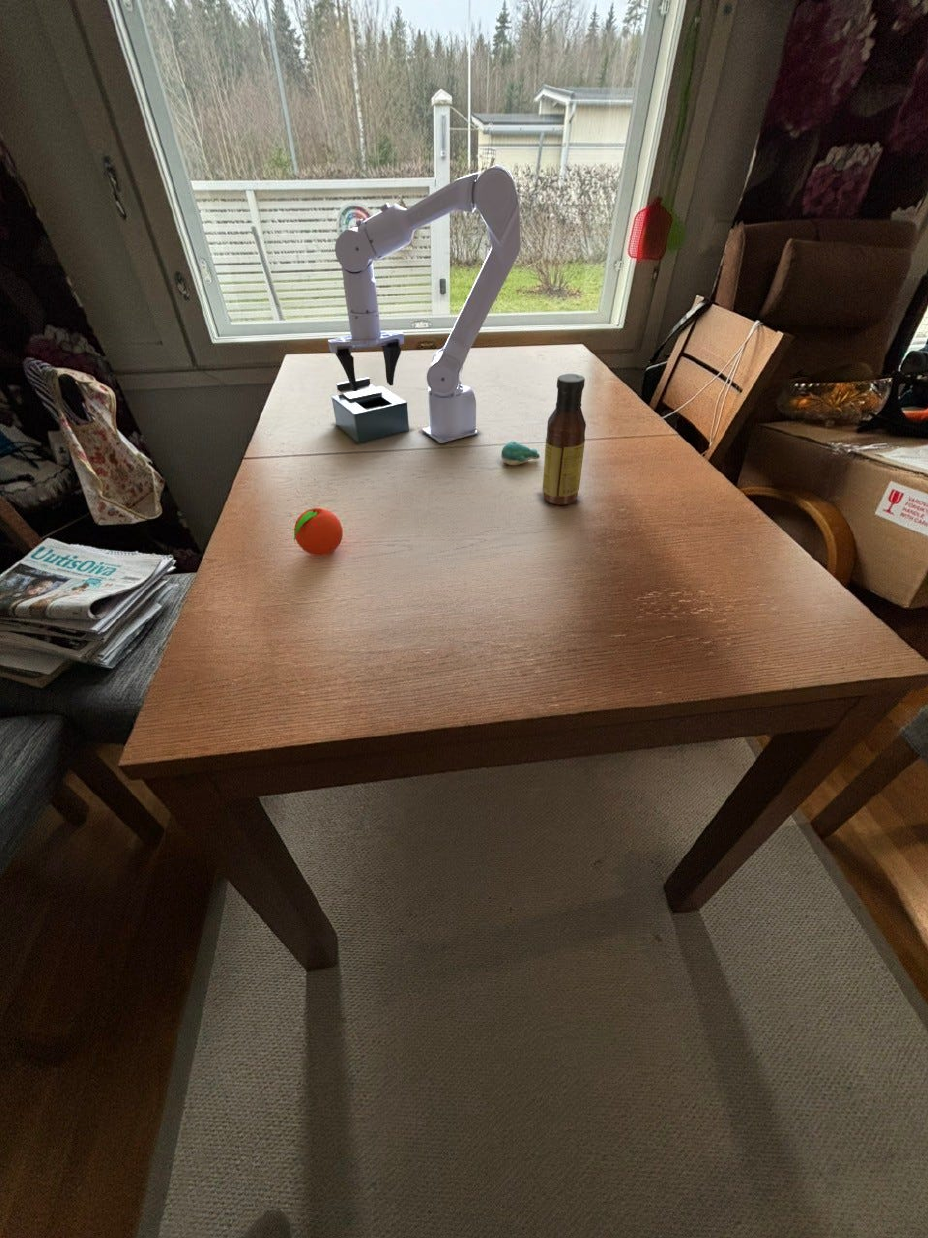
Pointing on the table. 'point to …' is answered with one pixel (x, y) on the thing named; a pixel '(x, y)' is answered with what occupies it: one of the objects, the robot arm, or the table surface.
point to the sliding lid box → (371, 415)
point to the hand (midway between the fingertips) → (372, 386)
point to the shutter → (358, 389)
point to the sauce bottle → (565, 442)
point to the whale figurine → (517, 453)
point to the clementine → (318, 531)
